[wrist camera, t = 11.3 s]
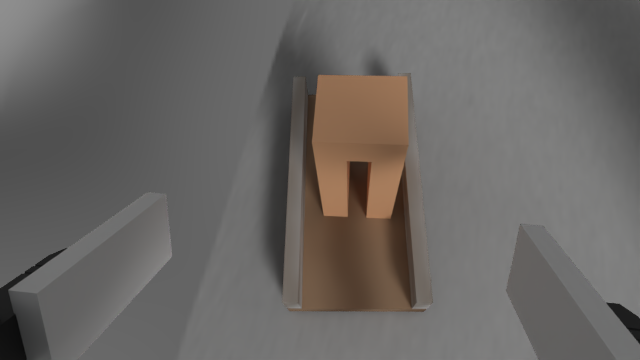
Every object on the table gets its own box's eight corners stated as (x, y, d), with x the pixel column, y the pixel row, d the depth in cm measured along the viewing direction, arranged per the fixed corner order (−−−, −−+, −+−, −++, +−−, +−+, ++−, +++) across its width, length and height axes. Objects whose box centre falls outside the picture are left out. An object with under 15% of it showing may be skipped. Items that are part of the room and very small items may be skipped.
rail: (405, 100, 38) (410, 73, 34) (423, 311, 30) (432, 302, 27) (298, 103, 38) (293, 76, 35) (289, 311, 31) (282, 302, 27)
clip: (390, 166, 34) (407, 76, 24) (390, 218, 32) (408, 144, 22) (327, 164, 34) (318, 74, 24) (323, 215, 32) (311, 142, 22)
